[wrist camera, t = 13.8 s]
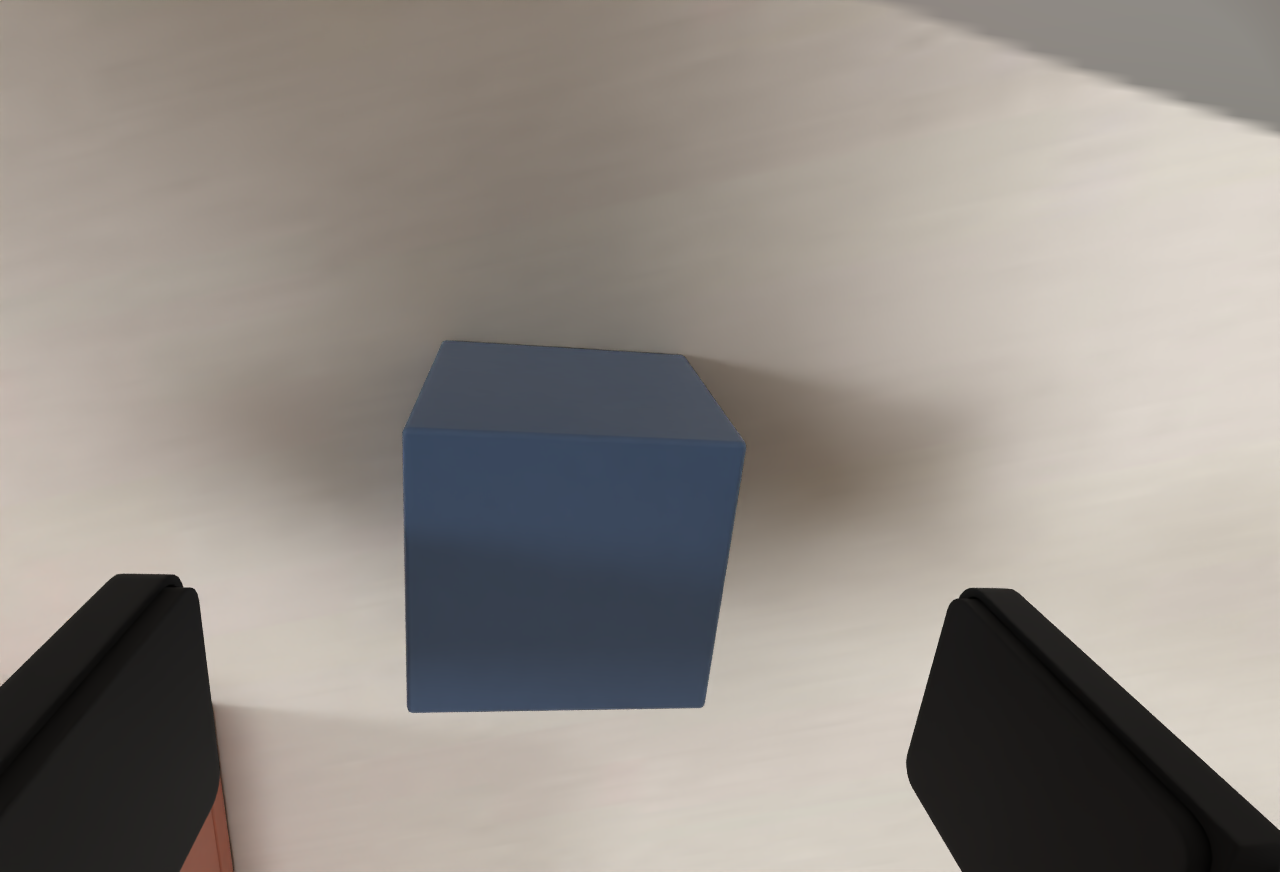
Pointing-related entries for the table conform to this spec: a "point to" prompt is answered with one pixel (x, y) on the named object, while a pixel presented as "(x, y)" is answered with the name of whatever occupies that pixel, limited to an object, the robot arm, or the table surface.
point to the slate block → (564, 530)
